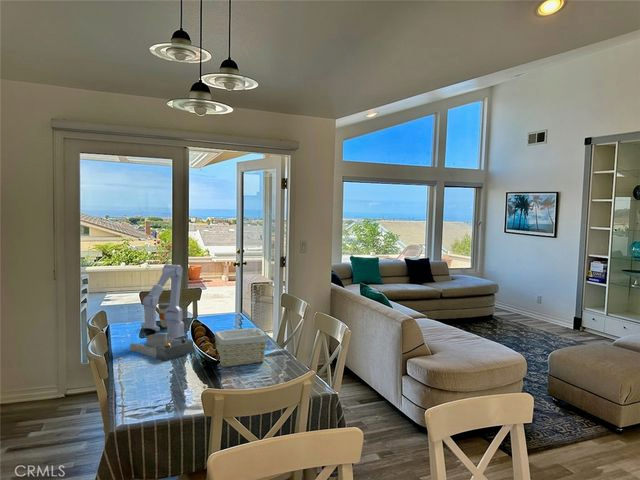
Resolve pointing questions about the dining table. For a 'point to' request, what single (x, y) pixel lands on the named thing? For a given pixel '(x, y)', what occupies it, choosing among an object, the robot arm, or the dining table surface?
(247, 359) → the storage basket
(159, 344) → the teacup
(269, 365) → the dining table surface
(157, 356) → the motor block
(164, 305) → the reusable coffee cup
